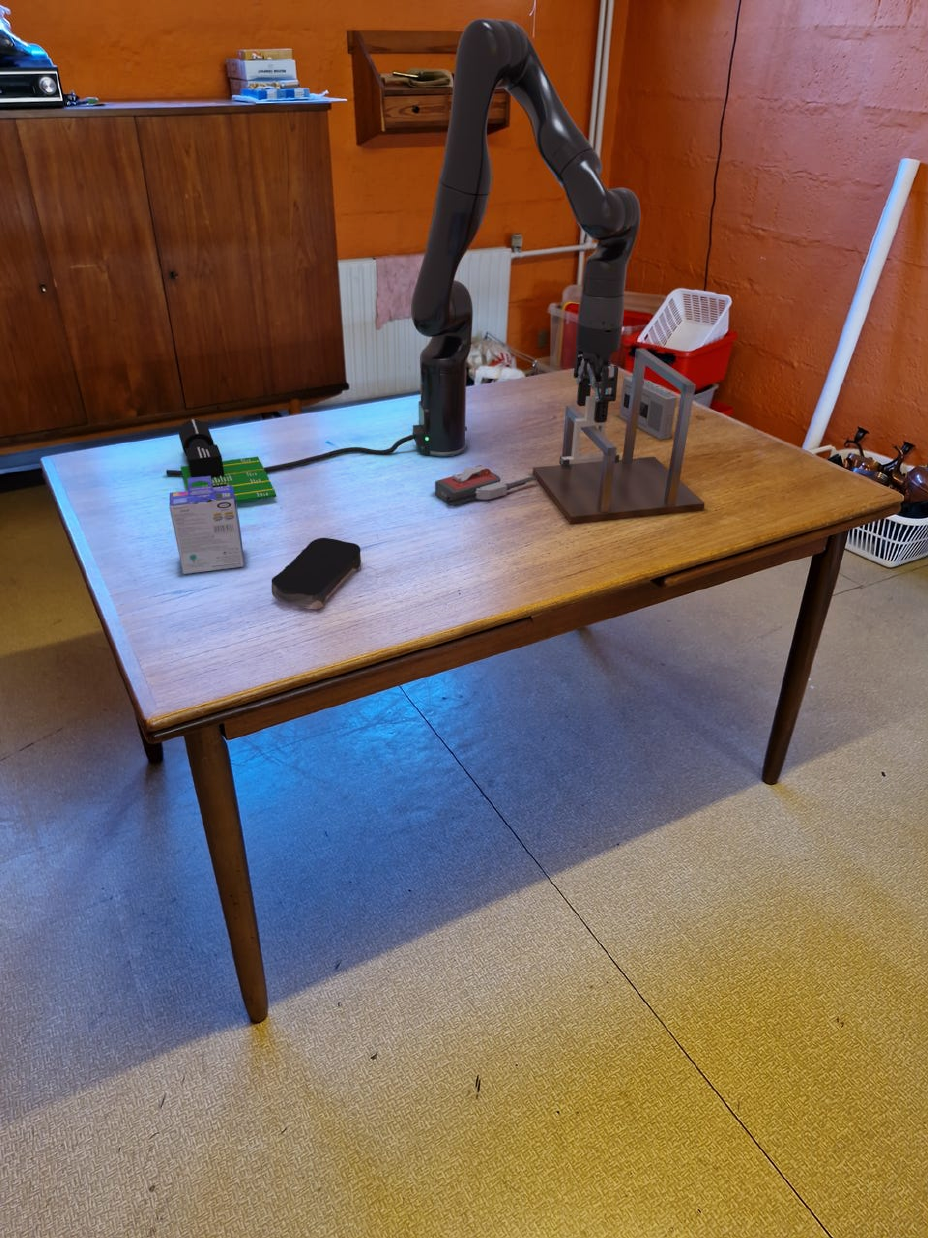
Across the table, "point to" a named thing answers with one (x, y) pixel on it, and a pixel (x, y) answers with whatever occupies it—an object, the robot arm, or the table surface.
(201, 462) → the electronic board model
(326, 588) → the black sponge
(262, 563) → the table surface
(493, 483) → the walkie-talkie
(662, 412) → the cassette player
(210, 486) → the ink cartridge box
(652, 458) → the rack
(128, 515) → the table surface
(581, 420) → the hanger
